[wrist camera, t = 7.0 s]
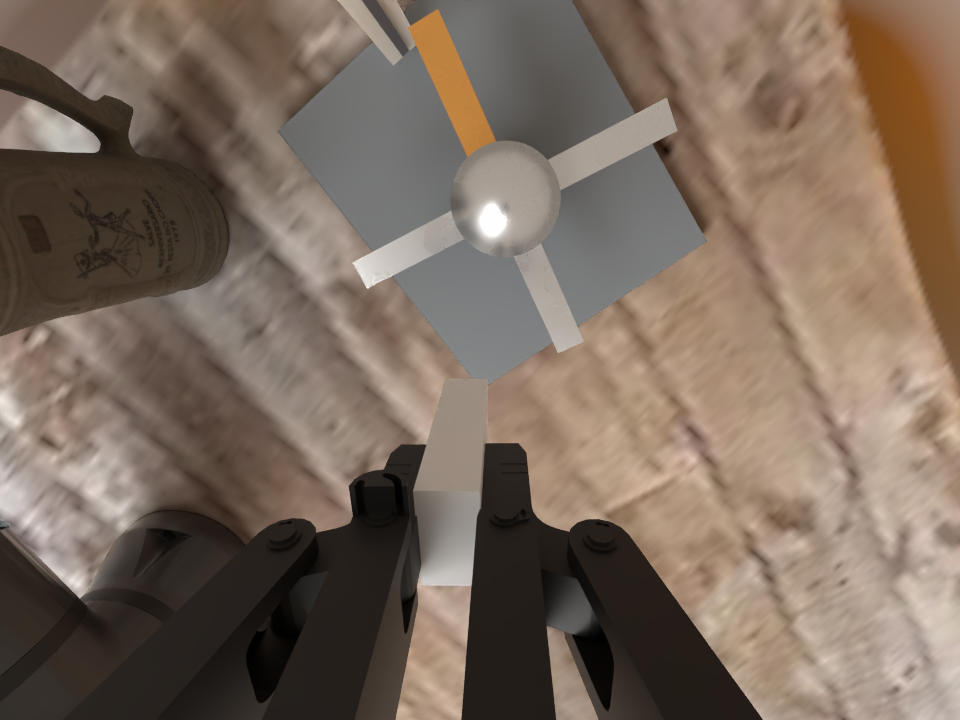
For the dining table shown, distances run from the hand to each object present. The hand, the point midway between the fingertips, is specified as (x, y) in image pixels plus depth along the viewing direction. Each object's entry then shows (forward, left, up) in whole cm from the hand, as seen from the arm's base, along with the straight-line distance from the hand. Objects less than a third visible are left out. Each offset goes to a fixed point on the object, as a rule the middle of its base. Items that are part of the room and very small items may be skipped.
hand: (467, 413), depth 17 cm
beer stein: (-18, +22, -25) cm, 37 cm away
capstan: (+5, +5, -18) cm, 19 cm away
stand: (+5, +5, -24) cm, 25 cm away
